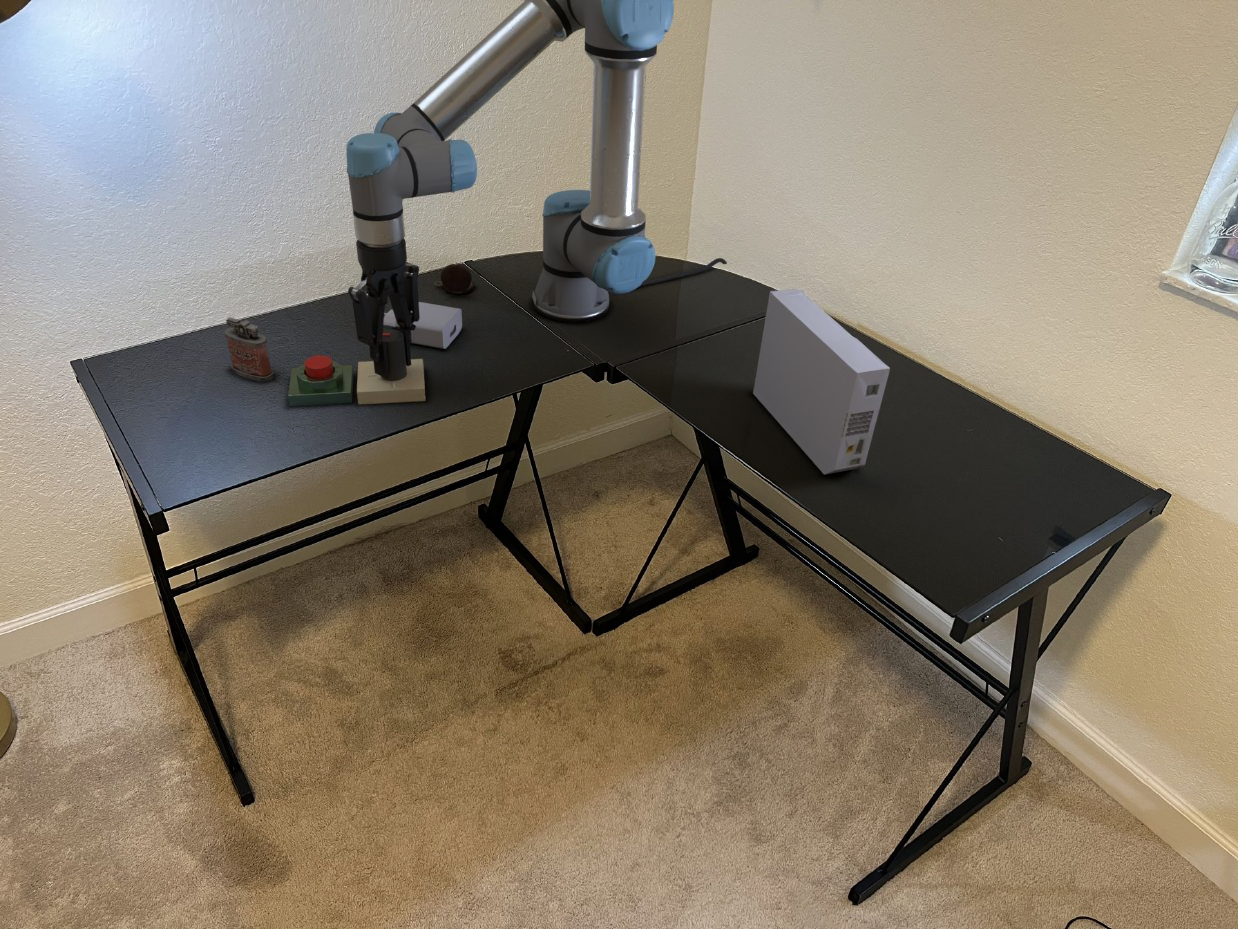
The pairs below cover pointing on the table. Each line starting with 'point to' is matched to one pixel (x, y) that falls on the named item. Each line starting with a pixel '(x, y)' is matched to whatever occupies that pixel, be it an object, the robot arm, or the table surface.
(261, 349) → the lighter
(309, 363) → the button
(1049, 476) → the table surface
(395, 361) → the hob knob
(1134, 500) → the table surface
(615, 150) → the robot arm
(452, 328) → the charger
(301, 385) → the box
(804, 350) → the game console
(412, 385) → the hob panel
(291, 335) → the table surface
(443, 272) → the dark brown round lump
